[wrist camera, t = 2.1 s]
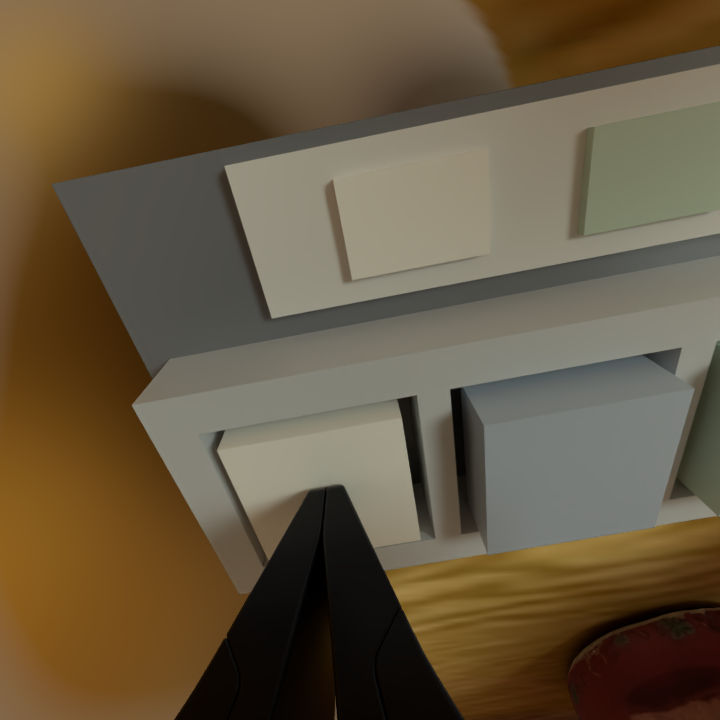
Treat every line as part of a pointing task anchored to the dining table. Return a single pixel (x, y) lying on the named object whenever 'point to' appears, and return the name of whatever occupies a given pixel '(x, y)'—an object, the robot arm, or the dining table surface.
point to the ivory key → (325, 470)
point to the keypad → (416, 274)
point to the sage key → (705, 442)
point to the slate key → (571, 451)
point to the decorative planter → (651, 670)
